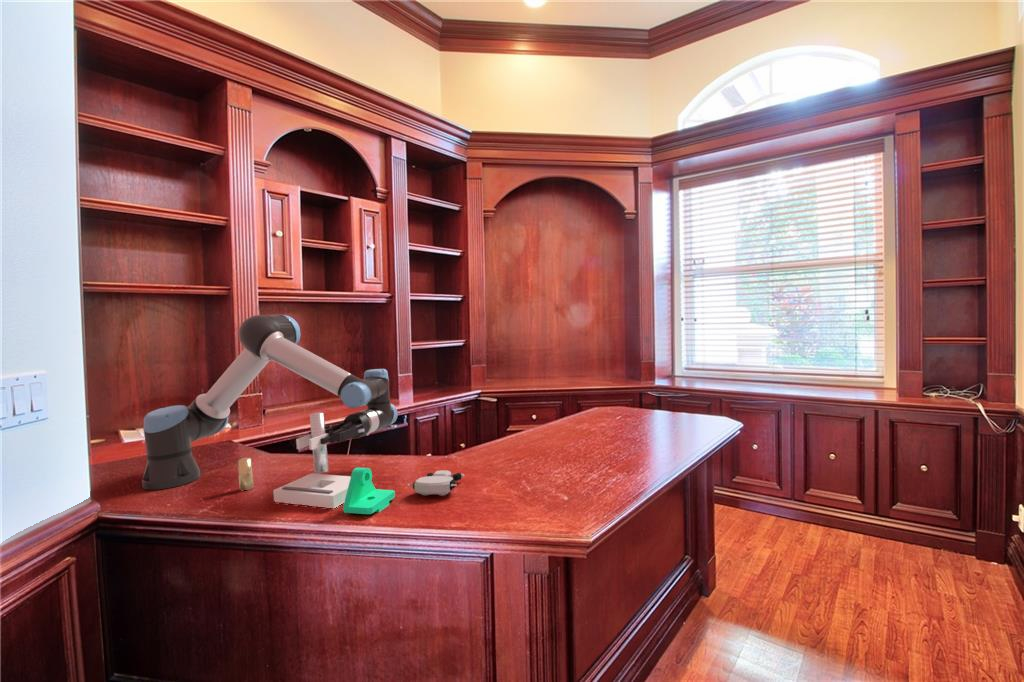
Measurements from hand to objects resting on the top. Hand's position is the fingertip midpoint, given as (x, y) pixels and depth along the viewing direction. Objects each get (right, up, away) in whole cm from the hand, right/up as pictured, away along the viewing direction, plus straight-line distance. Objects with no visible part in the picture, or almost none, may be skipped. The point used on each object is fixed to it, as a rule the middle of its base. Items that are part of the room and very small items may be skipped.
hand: (304, 444), depth 128 cm
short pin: (-24, -17, +16) cm, 33 cm away
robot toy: (+35, -14, +6) cm, 38 cm away
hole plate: (+2, -16, +6) cm, 17 cm away
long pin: (+2, -9, +6) cm, 10 cm away
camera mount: (+19, -16, -4) cm, 25 cm away
